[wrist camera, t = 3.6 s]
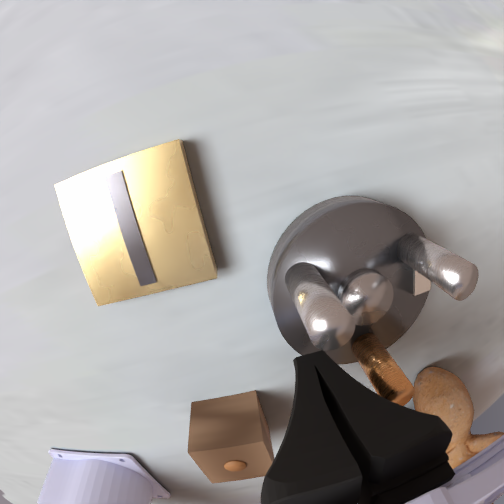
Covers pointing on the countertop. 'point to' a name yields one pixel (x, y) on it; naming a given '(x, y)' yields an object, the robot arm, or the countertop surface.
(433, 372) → the figurine
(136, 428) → the countertop surface
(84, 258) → the pad
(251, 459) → the block
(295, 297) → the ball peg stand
